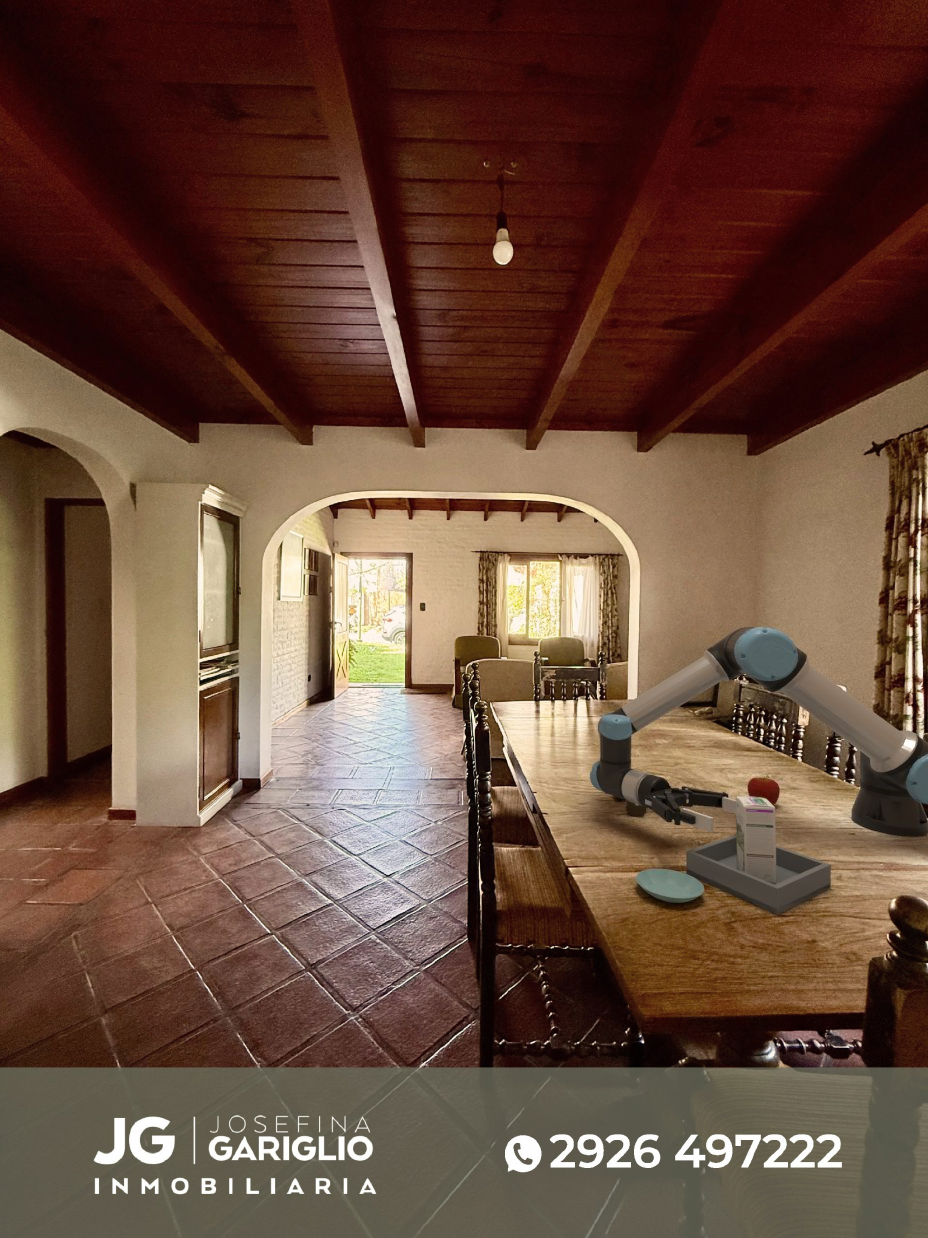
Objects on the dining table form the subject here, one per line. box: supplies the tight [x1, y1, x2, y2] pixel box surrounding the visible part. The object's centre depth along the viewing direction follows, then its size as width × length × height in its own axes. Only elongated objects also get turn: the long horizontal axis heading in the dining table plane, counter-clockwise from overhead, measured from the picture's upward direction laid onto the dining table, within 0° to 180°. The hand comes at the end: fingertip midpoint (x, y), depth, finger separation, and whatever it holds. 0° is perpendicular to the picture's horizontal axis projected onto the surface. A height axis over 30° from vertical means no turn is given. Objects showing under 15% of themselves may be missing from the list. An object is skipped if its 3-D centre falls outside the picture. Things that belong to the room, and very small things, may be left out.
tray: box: [685, 833, 832, 916], centre depth 108 cm, size 18×18×4 cm
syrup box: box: [735, 795, 777, 883], centre depth 108 cm, size 6×6×14 cm
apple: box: [746, 776, 781, 806], centre depth 152 cm, size 8×8×8 cm
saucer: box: [635, 868, 705, 904], centre depth 103 cm, size 12×12×2 cm
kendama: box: [613, 796, 648, 818], centre depth 152 cm, size 6×10×20 cm
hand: (733, 818), depth 112 cm, fingers open, 13 cm apart
